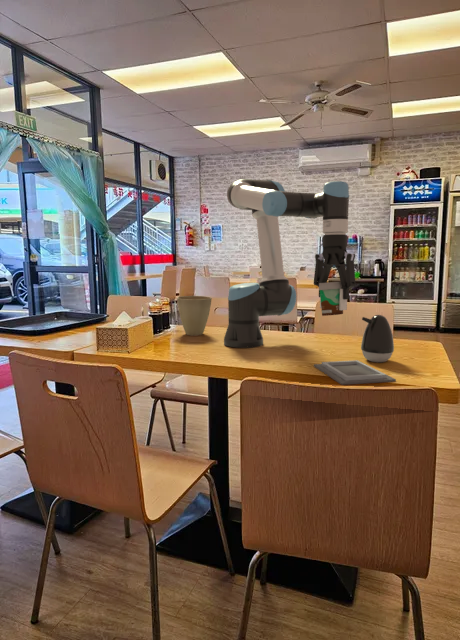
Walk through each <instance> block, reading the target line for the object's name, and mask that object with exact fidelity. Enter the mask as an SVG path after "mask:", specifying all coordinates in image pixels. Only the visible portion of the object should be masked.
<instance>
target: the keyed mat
mask: <svg viewBox="0 0 460 640" xmlns="http://www.w3.org/2000/svg"><path fill="white" fill-rule="evenodd" d="M313 367H314V368H315V369H317V370H319V371H320V372H322V373H323V372H324V373H323V374H325V375H326V374H327V375H326V376H328V377H329V378H331V379H332V380H334V381H335V382H337V383H338V384H339V385H341V386H342V385H343V386H344V385H359V384H375V383H391V382H392V383H395V382H396V381H397V380H396V378H394V377H392V376H390V375H388V374H387V373H384V372H383V371H380V370H378V369H376V368H374V367H372V366H370V365H368V364H365V363H364V362H362V361H360V360H358V359H355V360H337V361H321V363H315V364H313ZM394 381H395V382H394Z"/></svg>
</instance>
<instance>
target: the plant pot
mask: <svg viewBox="0 0 460 640" xmlns="http://www.w3.org/2000/svg"><path fill="white" fill-rule="evenodd" d="M176 301H177V307H178V308H177V309H178V312H179V313H178V314H179V316H180V317H179V318H180V321H181V325H182V327H183V330H184V333H185V335H187V336H194V337H195V336H202V335H203V334H204V332H205V329H206V326H207V323H208V319H209V315H210V311H211V305H212V297H211V296H203V295H188V296H187V295H186V296H183V295H182V296H177V297H176Z"/></svg>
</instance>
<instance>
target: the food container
mask: <svg viewBox="0 0 460 640" xmlns="http://www.w3.org/2000/svg"><path fill="white" fill-rule="evenodd" d="M341 287H342V285H341V281H332V282H327V283H319V287H318V291H319V290H320V297H319V300H320V299H321V308H320V309H321V316H322V317H325V316H338V315H343V314H344V310H339V304H340V289H341Z"/></svg>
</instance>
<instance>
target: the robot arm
mask: <svg viewBox="0 0 460 640" xmlns="http://www.w3.org/2000/svg"><path fill="white" fill-rule="evenodd" d="M349 187H350V186H349V184H348V182H346V181H342V180H341V181H340V180H337V181H328V182H325V183H324V185H323V189H322V192H317V193H314V192H313V193H312V192H299V191H298V192H296V191H295V192H294V191H286V190H285V188H284V186H283V185H282V184H281V183H280V182H279V181H274V180H272V179H271V180H270V179H267V180H266V179H248V178H242V179H238V180H235V181H232V183H231V184H230V185H229V187H228V188H227V191H226V197H227V201H228V203H229V204H230V205H231V206H232V207H233V208H236V209H239V210H243V211H244V210H245V211H251V215H252V218H254V219H255V220H256V228H257V237H258V238H257V239H258V248H259V255H260V256H259V257H260V267H261V277H262V278H261V280H260V281H259V283H258V282H244V283H238V284H234V285H232V286H230V287H229V288H228V295H227V300H228V304H227V305H228V307H227V309H228V324H227V328H226V331H225V333H224V337H223V345H224V346H226V347H231V348H240V349H247V348H248V349H249V348H259V347H261V346H263V345H264V337H263V334H262V331H261V327H260V323H259V321H260V317H267V316H268V317H270V316H278V317H279V316H280V317H281V316H283V315H288V314H290V313H292V311H293V310H294V308H295V306H296V302H297V291H296V289H295V287H294V285H291V284H290V282H289V279H288V277H286V276H285V272H284V270H285V269H284V263H283V251H282V242H281V233H280V224H279V223H280V222H279V217H295V218H306V219H318V218H321V217H322V233H323V234H324V235H322V238H321V239H322V241H321V242H322V244H321V245H322V252H321V253H315V255H314V258H315V266H314V267H315V268H314V275H313V276H314V277H313V285H314V286H317V287H318V288H319V283H328V279H329V276H330V273H331V270H332V268H333V266H335V268H336V269H337V273H338V278H339V282H341V285H342V287H341V289H340V304H339V310H343V311H347V309H348V300H349V298H350V289H351V288H354V287H356V271H355V259H356V254H355V253H350V252H348V250H347V247H348V239H349V238H348V234H347V233H349V231H348V230H349V207H350V206H349V202H350V201H349V200H350V191H349V189H350V188H349ZM318 298H319V308H320V309H321V299H320V290H319V289H318Z"/></svg>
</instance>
